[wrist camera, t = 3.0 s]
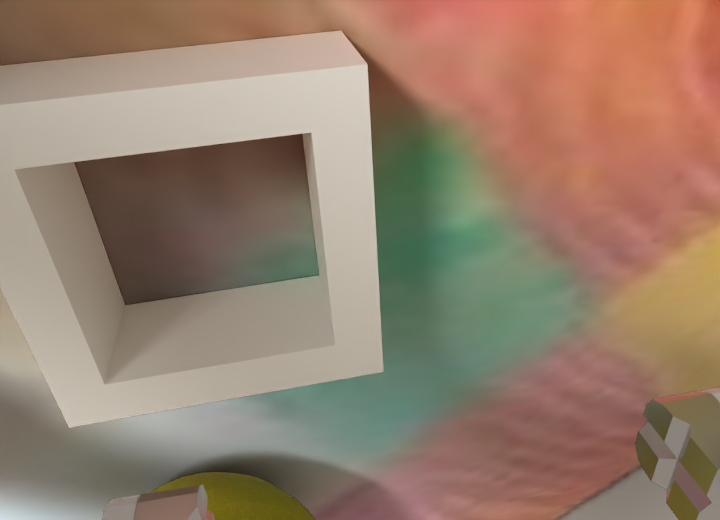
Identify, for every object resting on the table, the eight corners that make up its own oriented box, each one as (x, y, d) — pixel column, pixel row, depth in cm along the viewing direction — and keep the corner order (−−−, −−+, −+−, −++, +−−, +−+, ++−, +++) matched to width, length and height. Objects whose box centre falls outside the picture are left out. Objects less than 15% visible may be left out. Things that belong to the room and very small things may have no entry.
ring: (-20, 67, 16) (-86, 114, 12) (340, 30, 17) (367, 64, 14) (94, 344, 21) (69, 427, 18) (361, 300, 22) (383, 371, 19)
